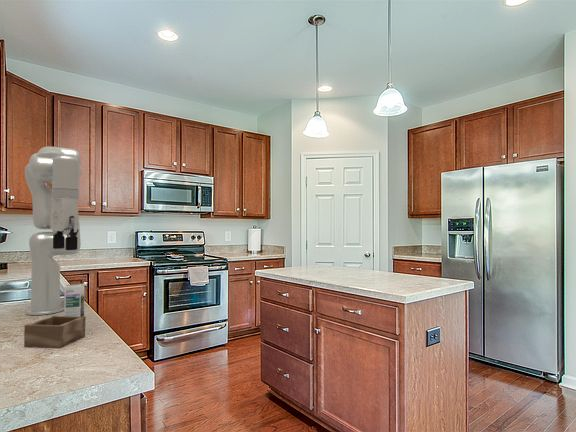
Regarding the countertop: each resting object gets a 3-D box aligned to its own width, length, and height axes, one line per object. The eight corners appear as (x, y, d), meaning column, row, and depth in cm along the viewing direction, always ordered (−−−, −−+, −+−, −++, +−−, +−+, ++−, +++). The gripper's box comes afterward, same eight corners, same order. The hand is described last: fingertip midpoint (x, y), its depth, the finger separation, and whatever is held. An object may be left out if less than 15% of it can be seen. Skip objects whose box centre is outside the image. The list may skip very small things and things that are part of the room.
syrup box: (63, 331, 119) (64, 286, 120) (64, 327, 124) (65, 284, 125) (83, 329, 122) (84, 285, 122) (84, 325, 127) (84, 282, 127)
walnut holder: (52, 335, 115) (52, 316, 115) (85, 336, 114) (85, 316, 114) (24, 346, 104) (24, 325, 105) (60, 348, 103) (60, 326, 104)
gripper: (42, 195, 120) (41, 248, 120) (63, 193, 109) (63, 251, 109) (67, 197, 126) (66, 247, 126) (90, 195, 115) (89, 249, 115)
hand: (64, 249), depth 117 cm, fingers open, 9 cm apart
